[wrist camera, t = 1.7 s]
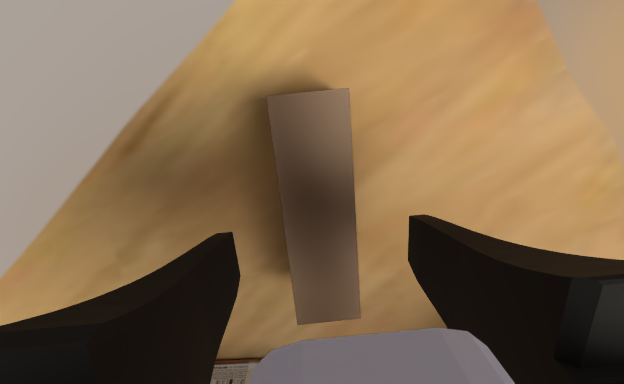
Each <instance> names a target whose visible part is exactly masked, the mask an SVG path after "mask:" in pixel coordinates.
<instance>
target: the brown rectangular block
mask: <svg viewBox="0 0 624 384" xmlns="http://www.w3.org/2000/svg"><path fill="white" fill-rule="evenodd" d="M266 98H267V105H268V113H269V120H270V127H271V135H272V142H273V149H274V156H275V164H276V171H277V178H278V186H279V193H280V200H281V208H282V215H283V222H284V230H285V237H286V244H287V252H288V259H289V266H290V274H291V281H292V288H293V295H294V303H295V310H296V317H297V325H302V324H311V323H321V322H331V321H341V320H350V319H360V318H361V312H360V292H359V272H358V252H357V232H356V213H355V193H354V173H353V153H352V133H351V113H350V93H349V88H342V89H332V90H322V91H312V92H302V93H291V94H281V95H271V96H266Z"/></svg>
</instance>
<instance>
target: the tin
mask: <svg viewBox="0 0 624 384" xmlns="http://www.w3.org/2000/svg"><path fill="white" fill-rule="evenodd" d="M260 361H261V359H242V360H220V361H215V365H214V369H213V374H212V378H211V382H210V384H250V380H251V374H252V369H253V368H254V367H255V366H256V365H257V364H258V363H259V362H260Z"/></svg>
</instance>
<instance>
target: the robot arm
mask: <svg viewBox="0 0 624 384" xmlns="http://www.w3.org/2000/svg"><path fill="white" fill-rule="evenodd" d="M408 261H409V263H410V266H411V268H412V270H413V273H414V275H415V277H416V279H417V281H418V282H419V284H420V286H421V287H422V289H423V290H424V292H425V293H426V295H427V297H428V298H429V300H430V301H431V303H432V304H433V306H434V307H435V309H436V310H437V312H438V314H439V315H440V317H441V318H442V320H443V321H444V323H445V324H446V326H447V328H448V329H445V328H427V329H417V330H406V331H396V332H385V333H375V334H364V335H354V336H343V337H333V338H323V339H312V340H302V341H299V342H296V343H292V344H289V345H286V346H283V347H280V348H277V349H273V350H271V351H270V352H269V353H268V354H267V355H266V356H265V357H264V358H263V359H262V360H261V361H260V362H259V363H258V364H257V365H256V366H255V367H254V368H253V369H252V374H251V380H250V384H624V260H615V259H605V258H596V257H587V256H579V255H572V254H565V253H559V252H553V251H548V250H542V249H537V248H532V247H527V246H523V245H519V244H515V243H511V242H507V241H503V240H500V239H496V238H493V237H490V236H487V235H483V234H480V233H477V232H474V231H471V230H469V229H466V228H463V227H460V226H458V225H455V224H452V223H449V222H447V221H444V220H441V219H438V218H435V217H432V216H429V215H414V216H409V243H408ZM239 281H240V270H239V265H238V260H237V254H236V249H235V244H234V238H233V233H232V232H227V233H217V234H215V235H213V236H211V237H209V238H208V239H206V240H205V241H203V242H201V243H200V244H198V245H197V246H195V247H194V248H192V249H191V250H189V251H188V252H186V253H185V254H183V255H181V256H180V257H178V258H176V259H175V260H173V261H172V262H170V263H168V264H167V265H165V266H163V267H162V268H160V269H158V270H156V271H154V272H152V273H150V274H149V275H147V276H144V277H142V278H140V279H138V280H136V281H134V282H132V283H130V284H128V285H125V286H123V287H120V288H118V289H116V290H113V291H111V292H108V293H106V294H104V295H101V296H98V297H96V298H93V299H90V300H87V301H85V302H82V303H79V304H76V305H73V306H70V307H67V308H64V309H60V310H57V311H54V312H51V313H47V314H43V315H40V316H36V317H32V318H29V319H25V320H22V321H18V322H14V323H10V324H6V325H2V326H0V384H210V382H211V378H212V374H213V369H214V365H215V360H216V357H217V353H218V350H219V347H220V344H221V341H222V338H223V335H224V332H225V329H226V326H227V324H228V321H229V318H230V315H231V312H232V309H233V306H234V303H235V300H236V297H237V292H238V287H239Z"/></svg>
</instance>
